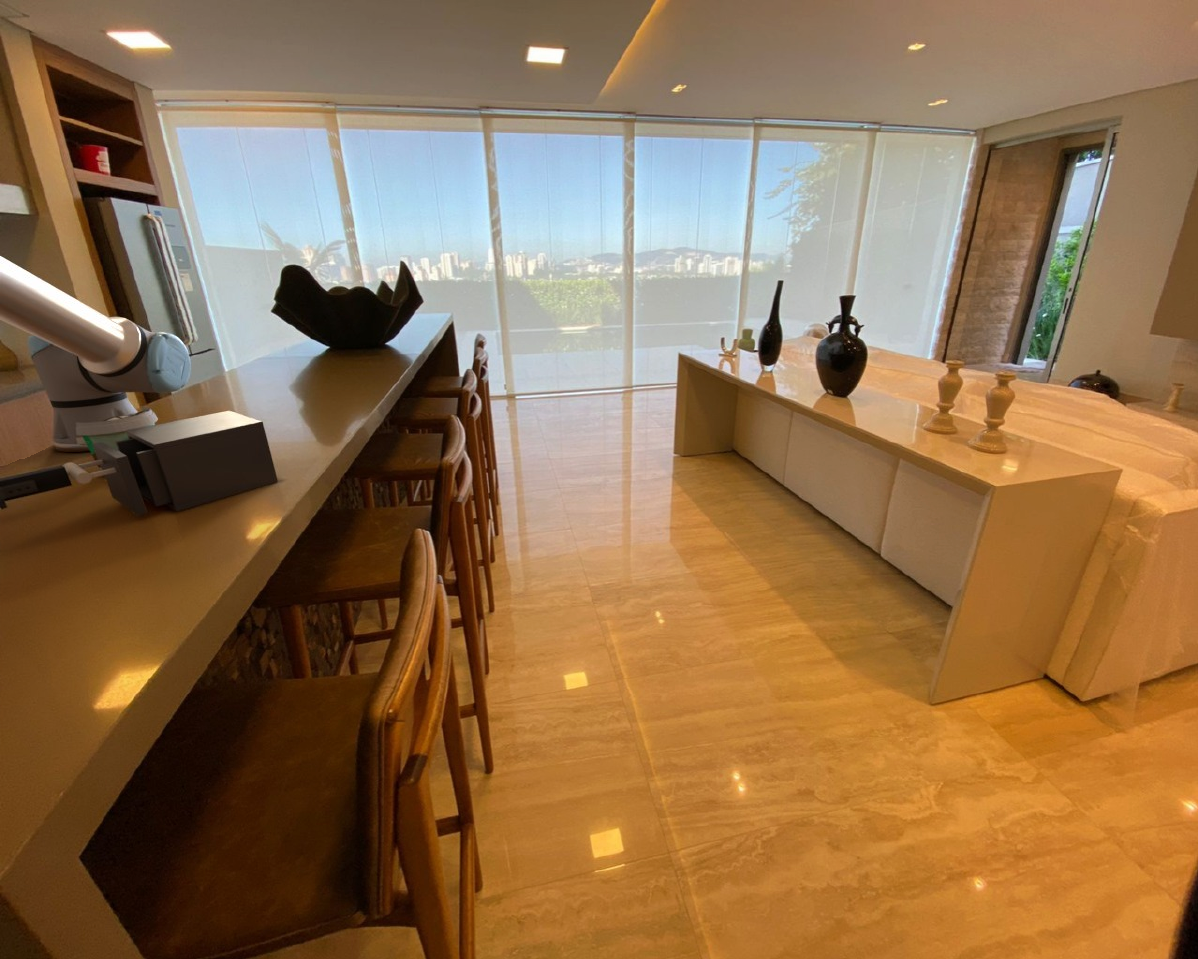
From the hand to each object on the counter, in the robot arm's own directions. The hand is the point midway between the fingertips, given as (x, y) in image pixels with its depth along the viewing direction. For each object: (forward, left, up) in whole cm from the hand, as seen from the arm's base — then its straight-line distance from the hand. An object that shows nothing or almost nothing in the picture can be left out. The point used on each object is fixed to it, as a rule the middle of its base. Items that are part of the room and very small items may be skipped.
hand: (66, 475), depth 73 cm
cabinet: (-7, +15, -7) cm, 18 cm away
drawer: (-4, +8, -7) cm, 11 cm away
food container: (-25, +3, -8) cm, 26 cm away
